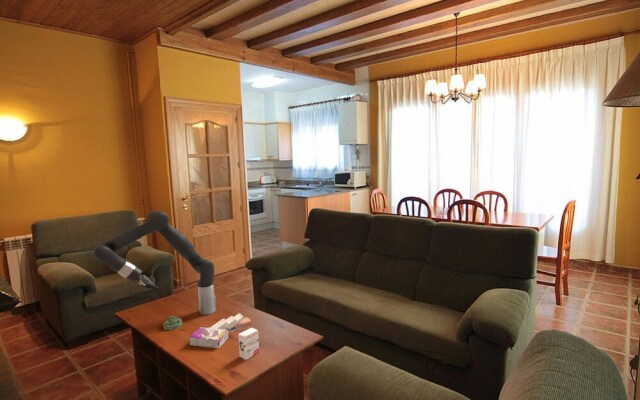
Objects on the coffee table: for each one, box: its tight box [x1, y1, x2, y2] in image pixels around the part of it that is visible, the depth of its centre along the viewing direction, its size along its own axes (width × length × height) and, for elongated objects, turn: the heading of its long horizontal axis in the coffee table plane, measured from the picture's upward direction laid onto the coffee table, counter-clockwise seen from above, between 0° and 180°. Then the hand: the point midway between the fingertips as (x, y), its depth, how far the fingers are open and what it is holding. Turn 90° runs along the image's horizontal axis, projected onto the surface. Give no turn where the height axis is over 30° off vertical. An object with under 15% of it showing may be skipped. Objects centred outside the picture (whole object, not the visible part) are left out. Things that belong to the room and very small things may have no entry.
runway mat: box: [226, 326, 243, 334], centre depth 201 cm, size 20×10×1 cm, turn 125°
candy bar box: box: [188, 326, 229, 349], centre depth 189 cm, size 11×5×16 cm
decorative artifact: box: [163, 314, 183, 331], centre depth 208 cm, size 10×7×10 cm
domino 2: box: [222, 315, 237, 329], centre depth 202 cm, size 2×6×10 cm
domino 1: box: [209, 318, 228, 329], centre depth 200 cm, size 2×6×10 cm
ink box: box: [237, 327, 260, 361], centre depth 176 cm, size 8×5×12 cm, turn 140°
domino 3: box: [228, 312, 246, 330], centre depth 205 cm, size 2×6×10 cm
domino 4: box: [234, 316, 252, 328], centre depth 208 cm, size 2×6×10 cm
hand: (157, 289), depth 194 cm, fingers closed
